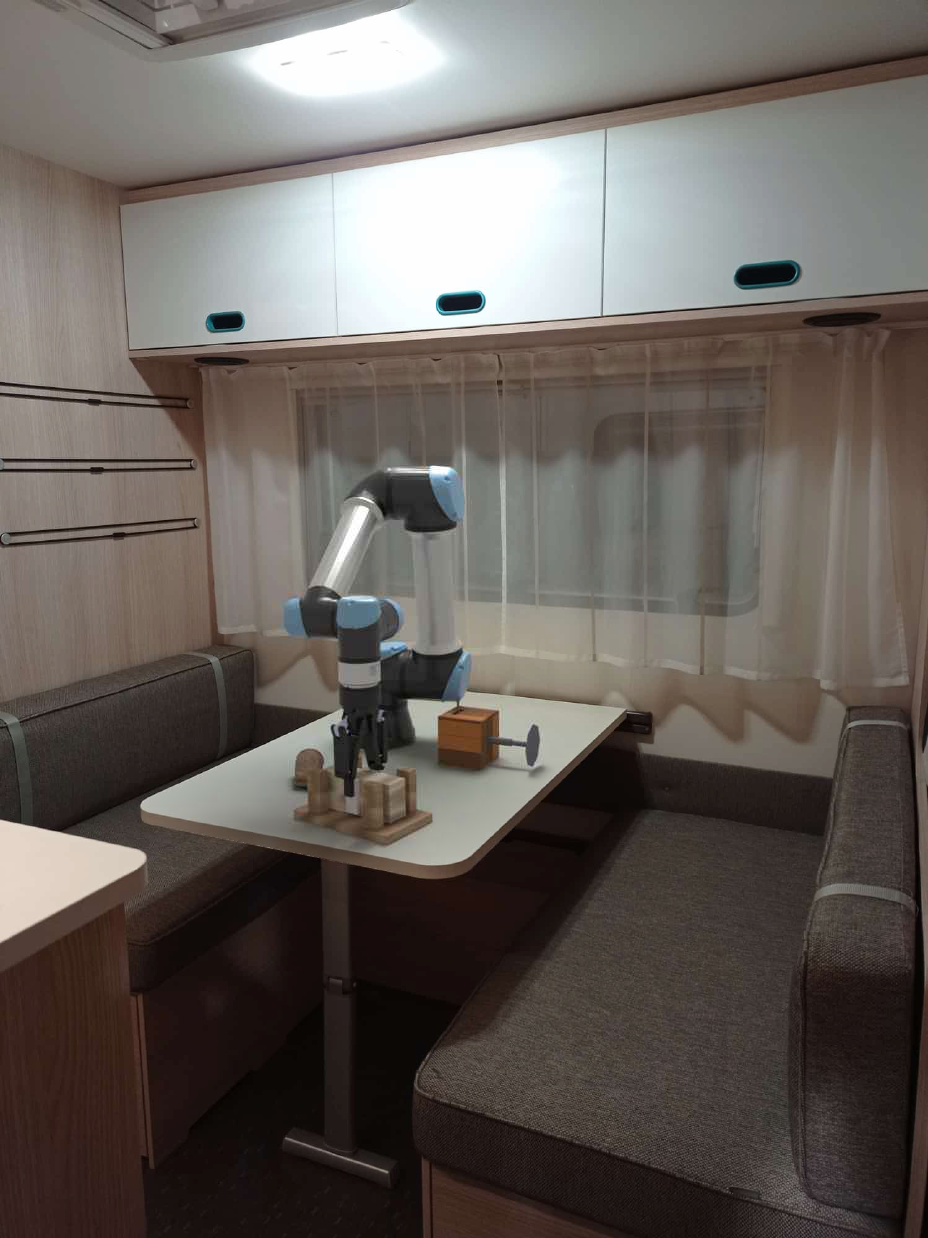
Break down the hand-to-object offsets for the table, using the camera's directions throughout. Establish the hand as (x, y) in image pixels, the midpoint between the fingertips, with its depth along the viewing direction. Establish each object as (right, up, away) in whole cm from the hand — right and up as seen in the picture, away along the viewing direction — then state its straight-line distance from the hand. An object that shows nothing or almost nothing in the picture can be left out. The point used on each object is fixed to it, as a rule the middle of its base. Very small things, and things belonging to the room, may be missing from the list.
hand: (362, 808), depth 163 cm
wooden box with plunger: (+24, +3, +33) cm, 41 cm away
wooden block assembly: (0, -2, 0) cm, 2 cm away
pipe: (-10, 0, +20) cm, 22 cm away
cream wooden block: (0, -1, 0) cm, 1 cm away
